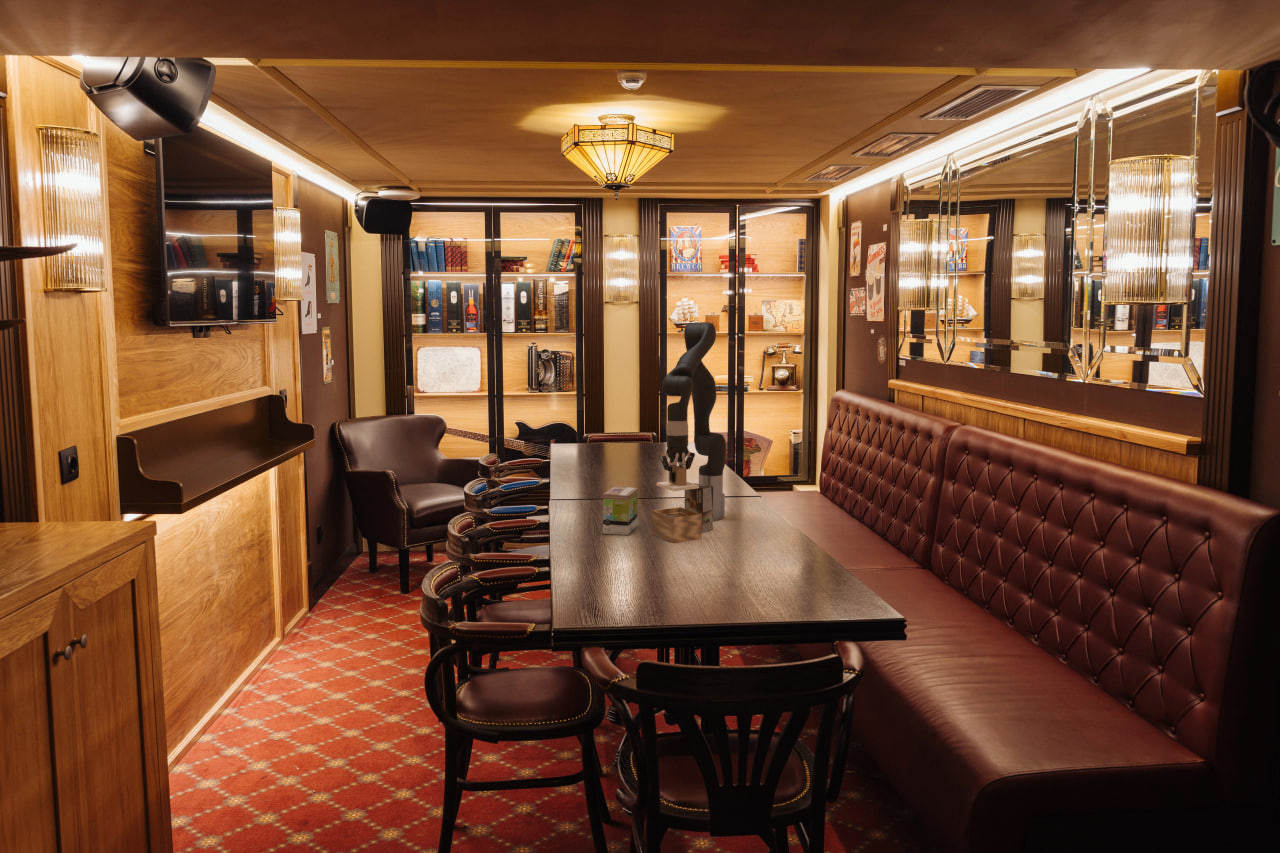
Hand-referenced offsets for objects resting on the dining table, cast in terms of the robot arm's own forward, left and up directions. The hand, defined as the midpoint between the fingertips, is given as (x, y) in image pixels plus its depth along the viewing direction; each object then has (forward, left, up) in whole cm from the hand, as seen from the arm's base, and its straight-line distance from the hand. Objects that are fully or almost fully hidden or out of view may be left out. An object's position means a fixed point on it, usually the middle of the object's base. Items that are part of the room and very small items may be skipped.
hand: (677, 481), depth 310 cm
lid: (0, 0, -2) cm, 2 cm away
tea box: (+13, -18, -20) cm, 30 cm away
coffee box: (-13, -6, -20) cm, 24 cm away
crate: (0, 0, -20) cm, 20 cm away
